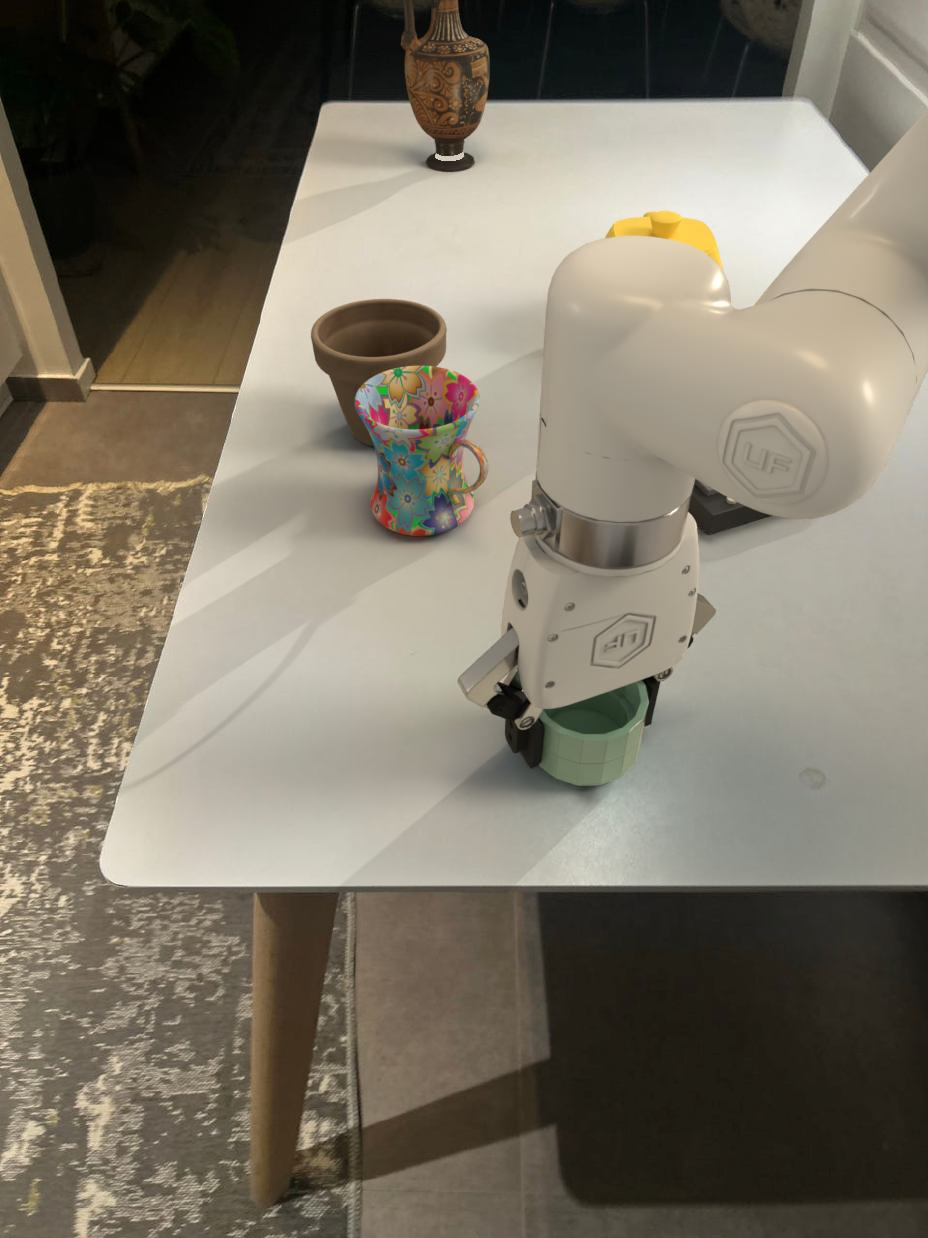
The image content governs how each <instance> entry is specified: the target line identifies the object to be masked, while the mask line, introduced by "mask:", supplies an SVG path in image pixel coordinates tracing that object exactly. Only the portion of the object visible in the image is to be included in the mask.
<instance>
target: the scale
mask: <svg viewBox="0 0 928 1238" xmlns="http://www.w3.org/2000/svg"><path fill="white" fill-rule="evenodd" d="M688 512H689V513H690V514H691V515H692V516H693V518H694V519H695V521H696V524H697V526H698V527H700V529H702V530H703V531H704V532H705V533H706V535H712V534H716V533H718V532H722V531H725V530H728V529H732V528H734V527H738V526H741V525H744V524H748V523H750V522H755V521H757V520H760V519H763V518H767V517H770V516H771V515H769V514H765V513H762V512H759V511H756V510H754V509H752V508H749V507H747V506H744V505H742V504H740V503H738V502H736V501H734V500H732V499H730V498H729V497H727V496H725V495H723V494H721V493H719V492H718V491H716V490H714V489H712V488H711V487H709V486H707V485H706V484H704V483H702V482H701V481H699V480H697V479H696V478H695V482H694V486H693V491H692V496H691V501H690V505H689V510H688Z"/></svg>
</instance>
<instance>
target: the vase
mask: <svg viewBox="0 0 928 1238" xmlns="http://www.w3.org/2000/svg"><path fill="white" fill-rule="evenodd" d="M402 3H403V12H404V15H403V16H404V30H403V31H402V34H401V40H400V46H401V48H402V49H403V50H405V55H404V77H405V85H406V90H407V95H408V100H409V105H410V108H411V110H412V113H413V115H414V118H415V120H416V122H417V124H418V125H419V127H420V129H421V130H422V131H423V132H424V133H425V134H426V135H427V136H429V137H430V138H431V139H433V140H434V144H435V152H434V153H431V154H430V155H429V156H428V157H426V160H425V165H426V166H427V167H428V168H430V169H433V170H437V171H442V172H456V171H463V170H467V169H469V168H471V167H473V166H474V165H475V162H476V161H475V158H474V156H473V155H471V154H470V153H467V152H464V157H463V158H462V159H460V160H456V161H441V160H438V159H436V158H435V154H436V153H437V154H439V155H441V156H454V155H458V154H460V153H462V152H463V150H464V146H465V140H466V139H468V138H469V137H470V136H471V135H472V134H473V133H475V131H476V130H477V129H478V127H479V125H480V123H481V121H482V119H483V115H484V112H485V108H486V104H487V99H488V94H489V93H488V92H489V84H490V72H491V71H490V70H491V69H490V68H491V63H490V62H491V59H490V51H489V47H488V45H487V44H486V43H485V42H484V41H483V40H481V39H479V38H476V37H474V36H473V37H472V36H469V35H468V34H467V33H466V32H465V31H464V29H463V26H462V23H461V18H460V12H459V0H431V17H430V24H429V27H428V30H427V32H426V33H425V34H424V35H423V36H422V37H421V38H419V39H418V36H417V31H416V26H415V25H416V24H415V12H414V3H413V0H402Z"/></svg>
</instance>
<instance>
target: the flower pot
mask: <svg viewBox="0 0 928 1238" xmlns="http://www.w3.org/2000/svg"><path fill="white" fill-rule="evenodd" d="M447 329H448V328H447V324H446V321H445V319H444V318H443V316H442V315H441V314H440V313H439V312H438V311H436V310H435V309H433V308H432V307H430V306H427V305H425V304H422V303H418V302H416V301H411V300H406V299H404V300H403V299H397V298H371V299H365V300H364V299H363V300H358V301H353V302H349V303H345V304H342V305H340V306H337V307H334V308H332V309H330V310H329V311H326V312H325V313H324V314H322V315H321V316H319V318H317V319H316V321H315V322H314V323H313V325H312V327H311V330H310V340H311V344H312V349H313V356H314V361H315V363H316V365H317V367H318V368H319V369H320V370H321V371H322V372H323V373H325V374H326V375H328V377H329V380H330V382H331V384H332V387H333V390H334V393H335V396H336V398H337V401H338V404H339V407H340V409H341V411H342V414H343V416H344V419H345V421H346V424H347V426H348V428H349V430H350V432H351V435H352V436H353V437H354V438H355V439H356V440H357V441H358V442H360V443H362V444H364V445H367V446H370V447H374V444H373V441H372V438H371V436H370V434H369V432H368V430H367V428H366V426H365V424H364V423H363V421H362V419H361V418H360V416H359V415H358V413H357V411H356V408H355V396H356V393H357V391H358V390H359V388H360V387H361V386H362V385H363V384H364V383H365V382H366V381H367V380H369V379H370V378H372V377H374V376H376V375H377V374H380V373H382V372H385V371H388V370H391V369H395V368H400V367H407V366H434V367H439V365H440V363H442V361H443V360H444V358H445V356H446V352H447V331H448V330H447Z"/></svg>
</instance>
